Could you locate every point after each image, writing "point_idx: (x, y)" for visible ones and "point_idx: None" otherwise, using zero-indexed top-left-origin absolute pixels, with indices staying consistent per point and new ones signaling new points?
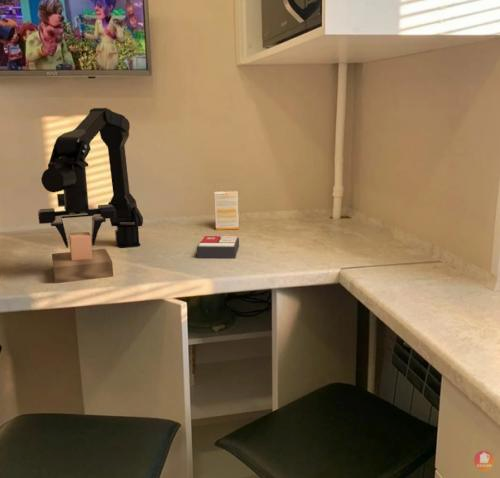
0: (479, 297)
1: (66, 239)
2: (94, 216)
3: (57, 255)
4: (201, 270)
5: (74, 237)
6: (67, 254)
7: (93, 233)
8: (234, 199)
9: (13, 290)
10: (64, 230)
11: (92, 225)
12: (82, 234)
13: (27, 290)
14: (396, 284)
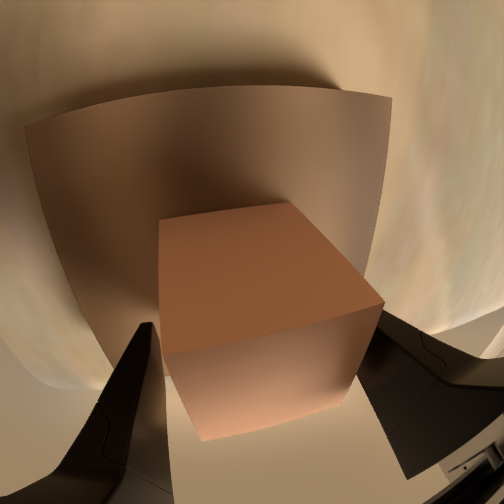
0: (494, 356)
1: (162, 414)
2: (452, 477)
3: (66, 182)
4: (472, 278)
5: (229, 435)
6: (132, 168)
7: (369, 398)
8: None
9: (30, 355)
10: (171, 495)
11: (424, 399)
12: (302, 381)
13: (66, 364)
14: (501, 337)
